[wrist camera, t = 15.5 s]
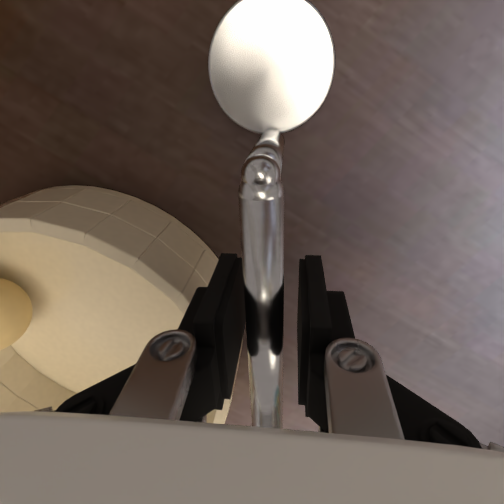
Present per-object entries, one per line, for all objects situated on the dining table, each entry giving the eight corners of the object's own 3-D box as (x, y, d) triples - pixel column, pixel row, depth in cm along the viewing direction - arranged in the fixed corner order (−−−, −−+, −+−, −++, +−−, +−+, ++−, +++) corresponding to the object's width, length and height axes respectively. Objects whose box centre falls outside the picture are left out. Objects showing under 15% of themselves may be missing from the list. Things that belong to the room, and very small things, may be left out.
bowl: (-71, 185, 17) (-180, 216, 13) (235, 183, 15) (215, 219, 11) (34, 397, 25) (-16, 458, 21) (248, 413, 23) (239, 484, 19)
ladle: (213, 5, 12) (129, -76, 6) (334, -4, 12) (382, -102, 5) (240, 362, 21) (217, 488, 14) (311, 366, 20) (320, 498, 14)
